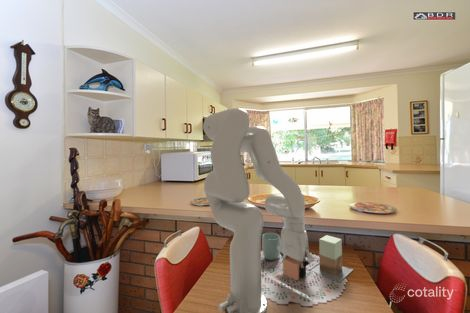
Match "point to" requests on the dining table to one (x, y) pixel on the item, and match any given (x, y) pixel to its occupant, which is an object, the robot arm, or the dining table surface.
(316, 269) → the plate
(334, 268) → the walnut brick
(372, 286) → the dining table surface
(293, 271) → the terracotta brick
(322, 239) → the sage brick
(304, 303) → the dining table surface
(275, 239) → the cup
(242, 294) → the robot arm
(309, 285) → the dining table surface
